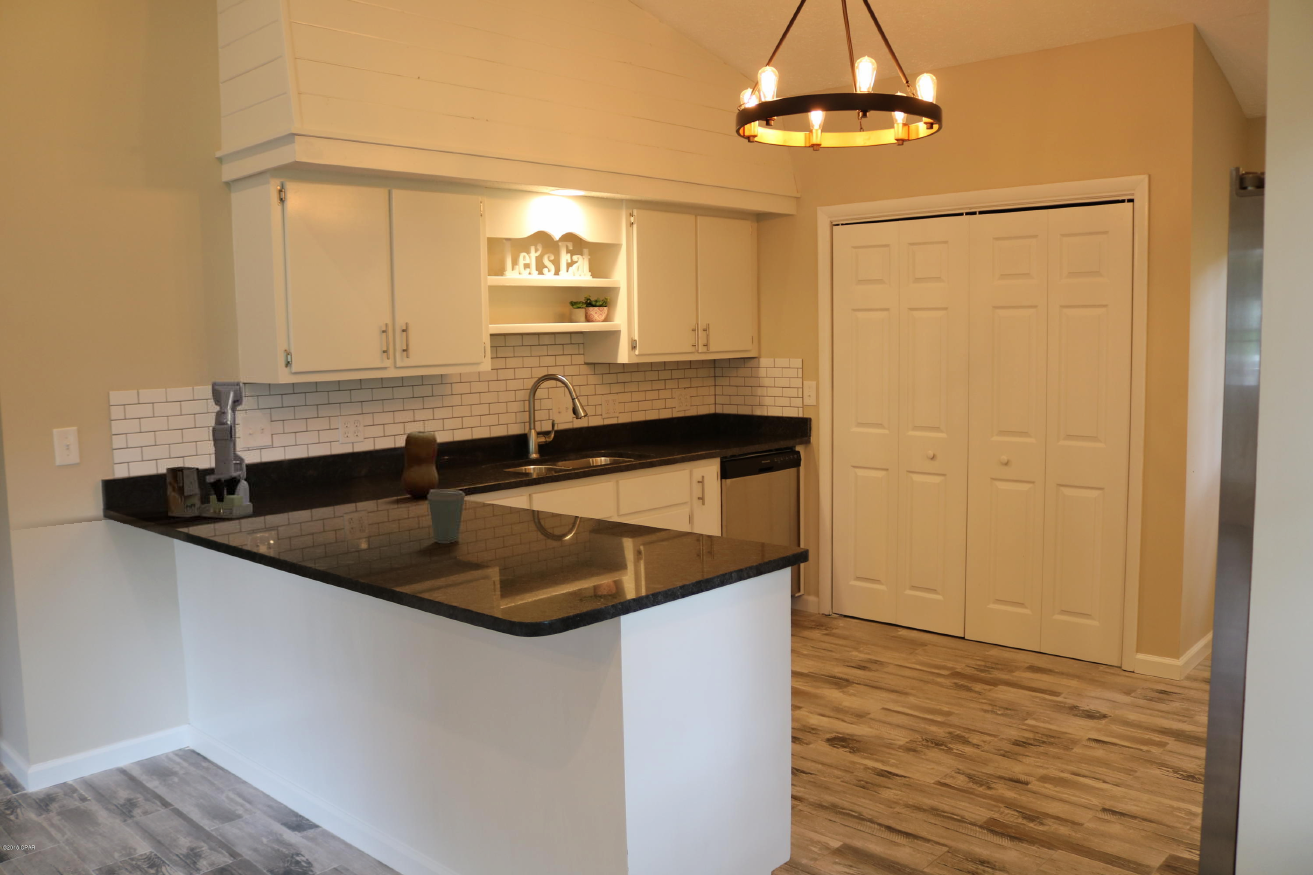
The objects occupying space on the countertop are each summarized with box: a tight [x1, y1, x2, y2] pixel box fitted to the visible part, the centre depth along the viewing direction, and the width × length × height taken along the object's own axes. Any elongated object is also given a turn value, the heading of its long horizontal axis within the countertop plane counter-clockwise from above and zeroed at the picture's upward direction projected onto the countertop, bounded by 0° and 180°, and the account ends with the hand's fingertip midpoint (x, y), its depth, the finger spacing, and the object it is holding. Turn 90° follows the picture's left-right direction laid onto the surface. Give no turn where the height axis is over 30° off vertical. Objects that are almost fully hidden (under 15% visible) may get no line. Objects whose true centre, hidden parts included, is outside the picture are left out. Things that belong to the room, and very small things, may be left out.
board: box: [209, 494, 243, 510], centre depth 336 cm, size 10×4×4 cm, turn 71°
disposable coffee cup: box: [427, 489, 466, 544], centre depth 287 cm, size 11×11×15 cm
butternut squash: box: [400, 430, 439, 499], centre depth 377 cm, size 14×13×25 cm
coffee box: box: [165, 466, 202, 518], centre depth 335 cm, size 9×6×16 cm
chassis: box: [198, 503, 253, 519], centre depth 336 cm, size 14×9×4 cm, turn 71°
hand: (225, 501), depth 336 cm, fingers closed on board, 4 cm apart
